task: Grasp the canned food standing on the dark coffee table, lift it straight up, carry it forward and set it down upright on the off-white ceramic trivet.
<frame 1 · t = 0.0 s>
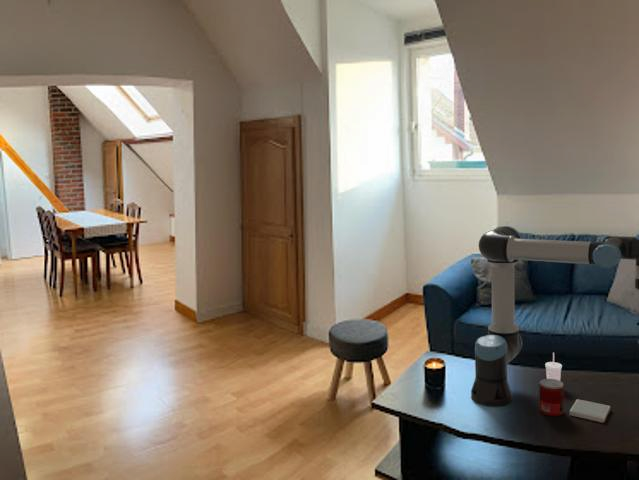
canned food: (551, 412, 196), on the table
beverage cup: (553, 386, 216), on the table
trivet: (589, 412, 194), on the table
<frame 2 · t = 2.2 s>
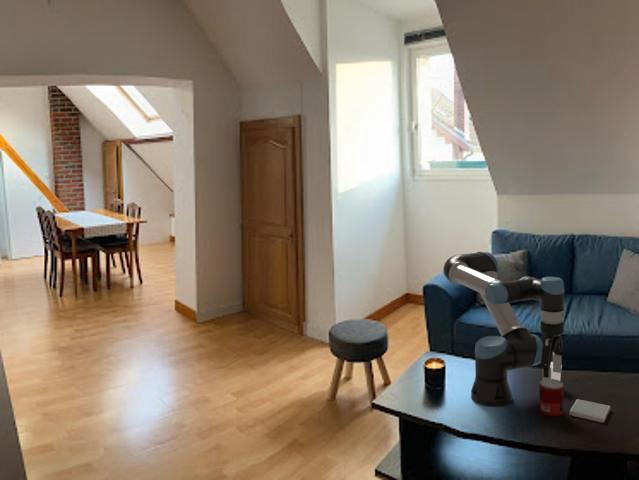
hand: (552, 378, 194), 13 cm above the table, fingers open, 13 cm apart
nothing on the table moved.
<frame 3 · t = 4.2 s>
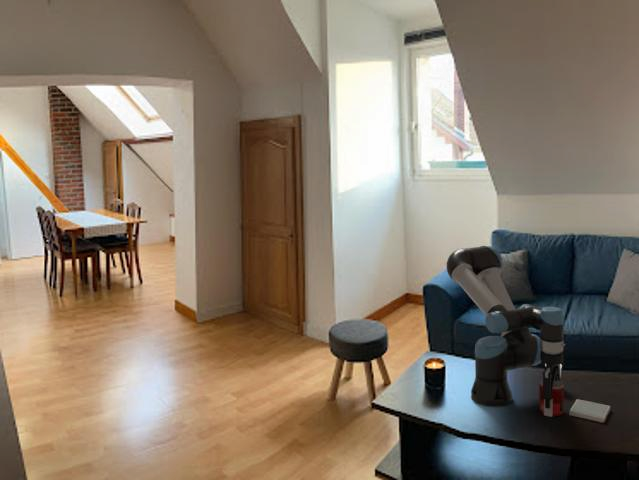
hand: (551, 410, 196), 0 cm above the table, fingers closed on canned food, 8 cm apart
canned food: (551, 412, 196), on the table, touching gripper
everything else where it was.
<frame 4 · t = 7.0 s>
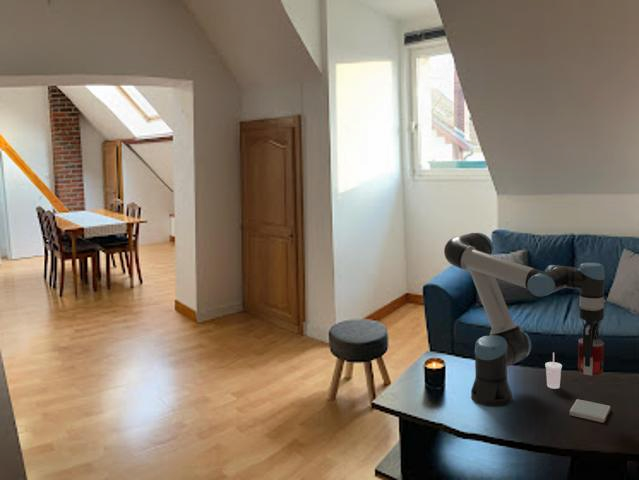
hand: (590, 370, 191), 16 cm above the table, fingers closed on canned food, 8 cm apart
canned food: (590, 371, 191), point 15 cm above the table, touching gripper
everything else where it was.
when the fingers open (3 cm above the table, at t = 10.1 s): canned food drops 1 cm, resting on trivet.
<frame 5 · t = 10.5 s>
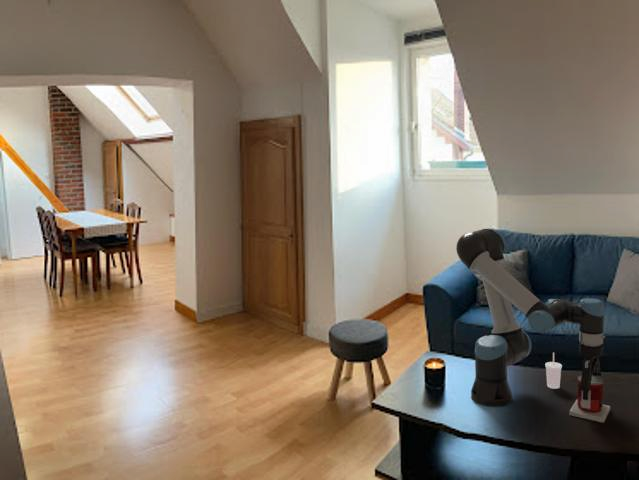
hand: (590, 400, 193), 5 cm above the table, fingers open, 13 cm apart
canned food: (589, 408, 194), point 1 cm above the table, touching trivet
everything else where it was.
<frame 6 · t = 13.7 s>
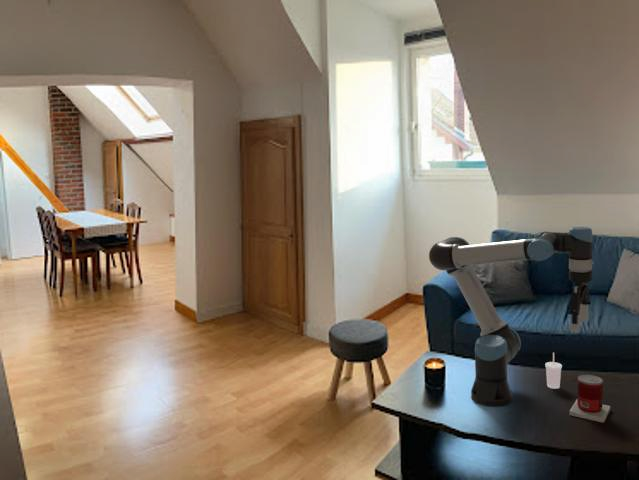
hand: (579, 326, 199), 29 cm above the table, fingers open, 13 cm apart
nothing on the table moved.
at the end: canned food inside the target area on the trivet (0.1 cm from its centre), point 1.5 cm above the trivet's base; canned food tilted 0°; the gripper is holding nothing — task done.
